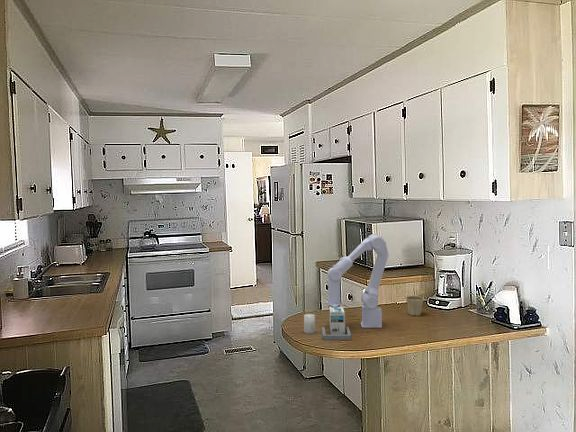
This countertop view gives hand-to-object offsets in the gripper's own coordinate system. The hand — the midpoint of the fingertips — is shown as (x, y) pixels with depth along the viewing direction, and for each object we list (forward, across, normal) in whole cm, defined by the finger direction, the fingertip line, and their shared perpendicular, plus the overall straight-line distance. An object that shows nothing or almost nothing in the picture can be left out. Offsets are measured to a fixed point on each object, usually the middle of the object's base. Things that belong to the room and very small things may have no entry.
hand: (334, 320), depth 243 cm
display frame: (+3, +13, 0) cm, 13 cm away
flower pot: (+3, -22, +43) cm, 48 cm away
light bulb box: (+3, +8, +1) cm, 8 cm away
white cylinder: (+3, +8, -12) cm, 15 cm away
